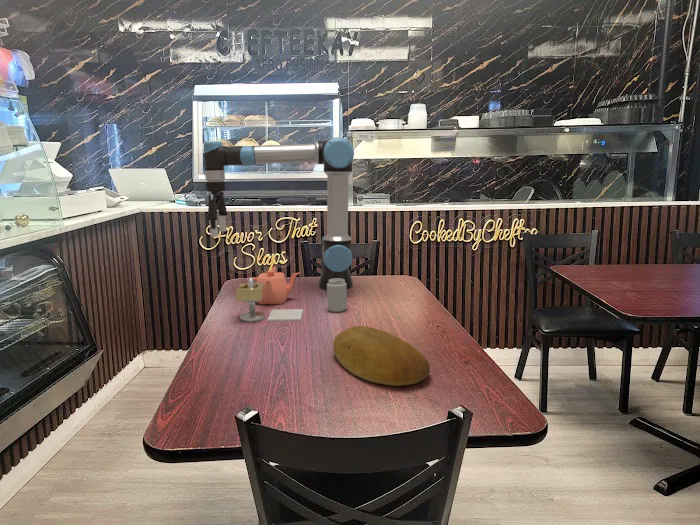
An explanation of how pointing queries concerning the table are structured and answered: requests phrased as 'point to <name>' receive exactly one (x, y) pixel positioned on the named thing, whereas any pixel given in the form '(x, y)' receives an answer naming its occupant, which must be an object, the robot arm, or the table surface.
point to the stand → (252, 308)
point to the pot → (275, 286)
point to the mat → (285, 315)
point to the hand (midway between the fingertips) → (219, 233)
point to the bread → (380, 357)
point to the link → (250, 292)
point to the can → (336, 295)
